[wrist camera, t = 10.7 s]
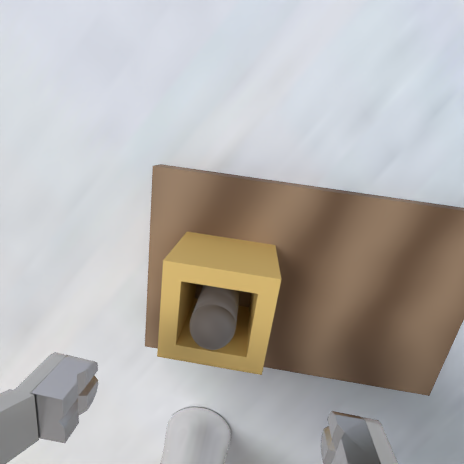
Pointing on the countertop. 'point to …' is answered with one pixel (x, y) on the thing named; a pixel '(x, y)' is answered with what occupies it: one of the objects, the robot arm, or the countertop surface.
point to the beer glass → (196, 438)
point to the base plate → (323, 274)
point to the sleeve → (224, 276)
